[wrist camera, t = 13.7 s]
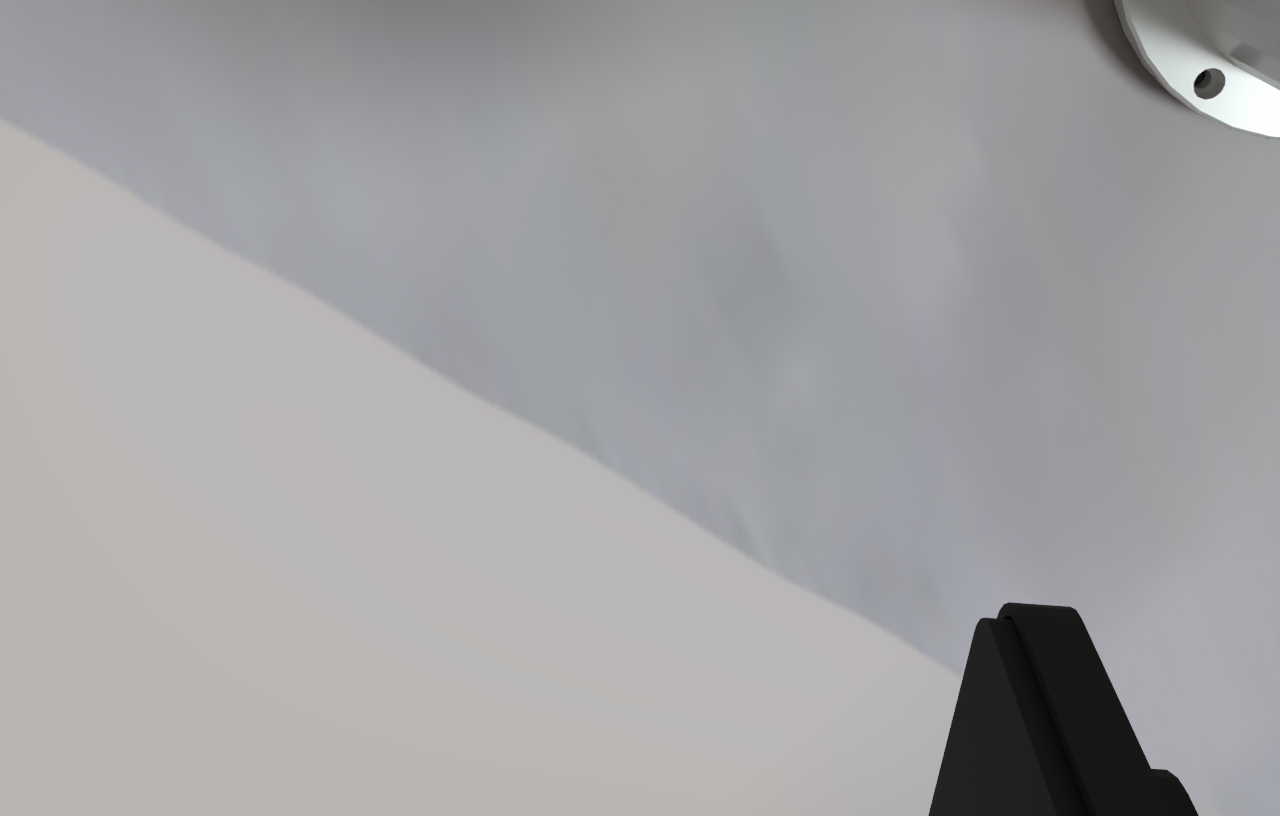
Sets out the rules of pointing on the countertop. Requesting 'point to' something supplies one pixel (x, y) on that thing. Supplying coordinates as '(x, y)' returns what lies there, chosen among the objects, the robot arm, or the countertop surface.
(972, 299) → the countertop surface
